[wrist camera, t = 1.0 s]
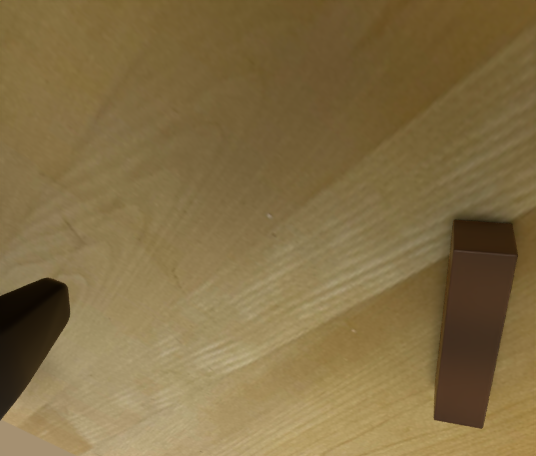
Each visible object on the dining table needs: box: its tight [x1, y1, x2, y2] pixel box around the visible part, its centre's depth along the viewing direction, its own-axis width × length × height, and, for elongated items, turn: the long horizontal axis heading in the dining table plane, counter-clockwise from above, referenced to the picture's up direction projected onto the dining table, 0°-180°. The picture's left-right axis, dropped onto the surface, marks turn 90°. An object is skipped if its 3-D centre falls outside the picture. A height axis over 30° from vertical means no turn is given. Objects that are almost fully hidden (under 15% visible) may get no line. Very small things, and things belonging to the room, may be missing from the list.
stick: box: [434, 220, 518, 429], centre depth 22 cm, size 10×2×2 cm, turn 6°
